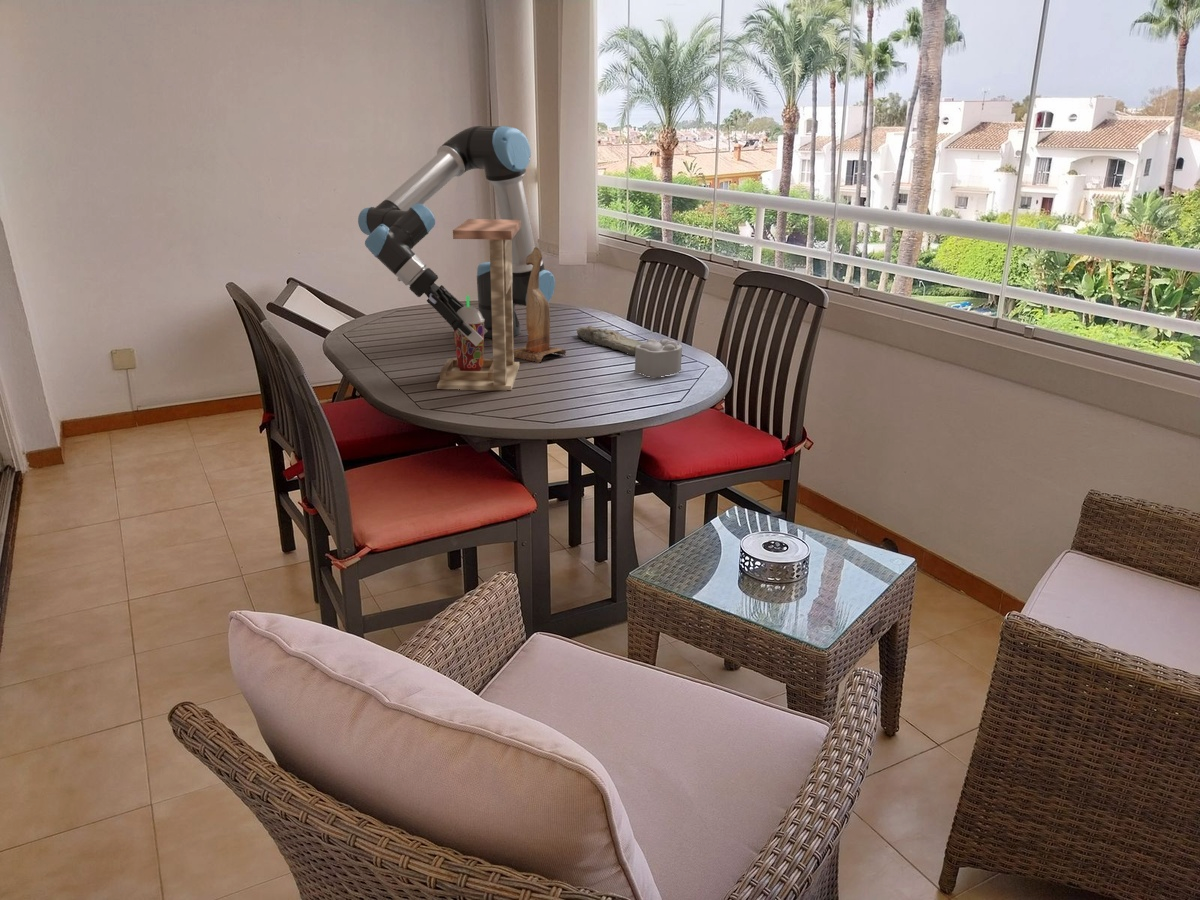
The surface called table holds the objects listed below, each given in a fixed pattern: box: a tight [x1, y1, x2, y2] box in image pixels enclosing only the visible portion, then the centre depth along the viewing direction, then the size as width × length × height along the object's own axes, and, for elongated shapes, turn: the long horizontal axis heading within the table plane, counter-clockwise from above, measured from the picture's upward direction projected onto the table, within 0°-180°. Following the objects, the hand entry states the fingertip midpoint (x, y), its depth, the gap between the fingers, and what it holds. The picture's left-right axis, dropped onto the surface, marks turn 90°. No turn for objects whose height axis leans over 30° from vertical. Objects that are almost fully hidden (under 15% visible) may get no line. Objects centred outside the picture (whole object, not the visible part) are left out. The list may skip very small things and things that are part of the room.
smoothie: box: [453, 295, 485, 371], centre depth 229 cm, size 8×8×20 cm
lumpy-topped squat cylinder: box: [634, 338, 683, 377], centre depth 240 cm, size 10×13×9 cm
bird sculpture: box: [514, 246, 567, 363], centre depth 249 cm, size 11×12×32 cm
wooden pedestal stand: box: [436, 218, 521, 391], centre depth 226 cm, size 20×26×40 cm
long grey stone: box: [576, 325, 644, 356], centre depth 268 cm, size 35×5×10 cm
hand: (481, 338), depth 230 cm, fingers closed on smoothie, 8 cm apart
